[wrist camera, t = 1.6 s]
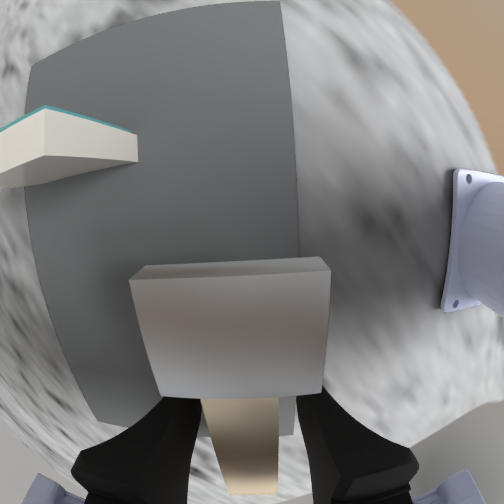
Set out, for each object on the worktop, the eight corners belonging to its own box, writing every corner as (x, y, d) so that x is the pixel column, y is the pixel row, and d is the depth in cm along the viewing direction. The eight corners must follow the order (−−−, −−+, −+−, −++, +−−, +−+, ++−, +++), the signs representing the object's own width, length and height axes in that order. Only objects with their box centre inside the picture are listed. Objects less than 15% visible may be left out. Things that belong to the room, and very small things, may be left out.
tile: (137, 130, 10) (46, 100, 4) (138, 162, 10) (44, 155, 5) (40, 158, 10) (-49, 161, 4) (41, 184, 11) (-48, 198, 5)
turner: (293, 425, 14) (303, 491, 9) (213, 428, 14) (204, 493, 10) (298, 230, 11) (331, 270, 6) (178, 238, 11) (128, 279, 6)
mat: (278, 7, 9) (279, 1, 8) (292, 428, 15) (293, 434, 15) (37, 68, 9) (31, 66, 9) (100, 415, 15) (97, 420, 15)
